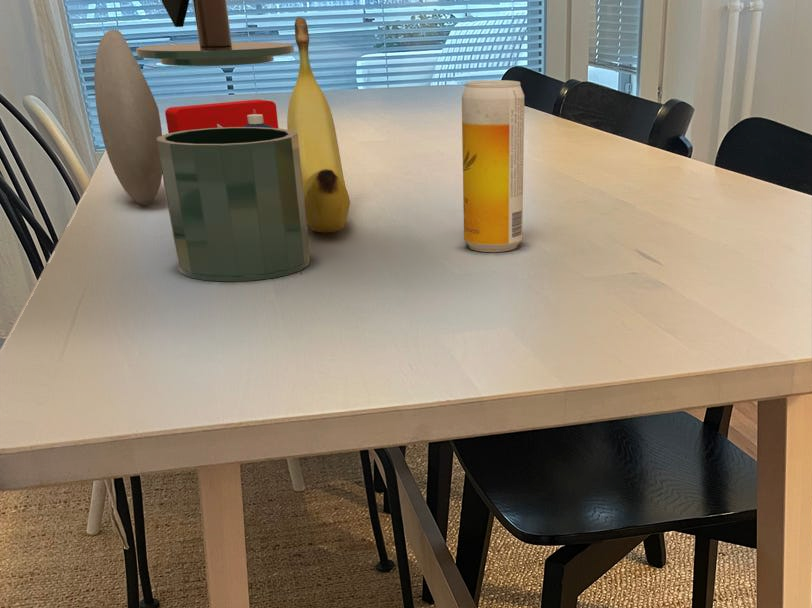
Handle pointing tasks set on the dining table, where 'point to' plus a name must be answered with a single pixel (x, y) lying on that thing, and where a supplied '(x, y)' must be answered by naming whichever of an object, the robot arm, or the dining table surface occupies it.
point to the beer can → (493, 164)
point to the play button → (219, 115)
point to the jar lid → (214, 43)
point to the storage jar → (235, 202)
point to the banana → (316, 146)
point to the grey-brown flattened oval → (127, 118)
